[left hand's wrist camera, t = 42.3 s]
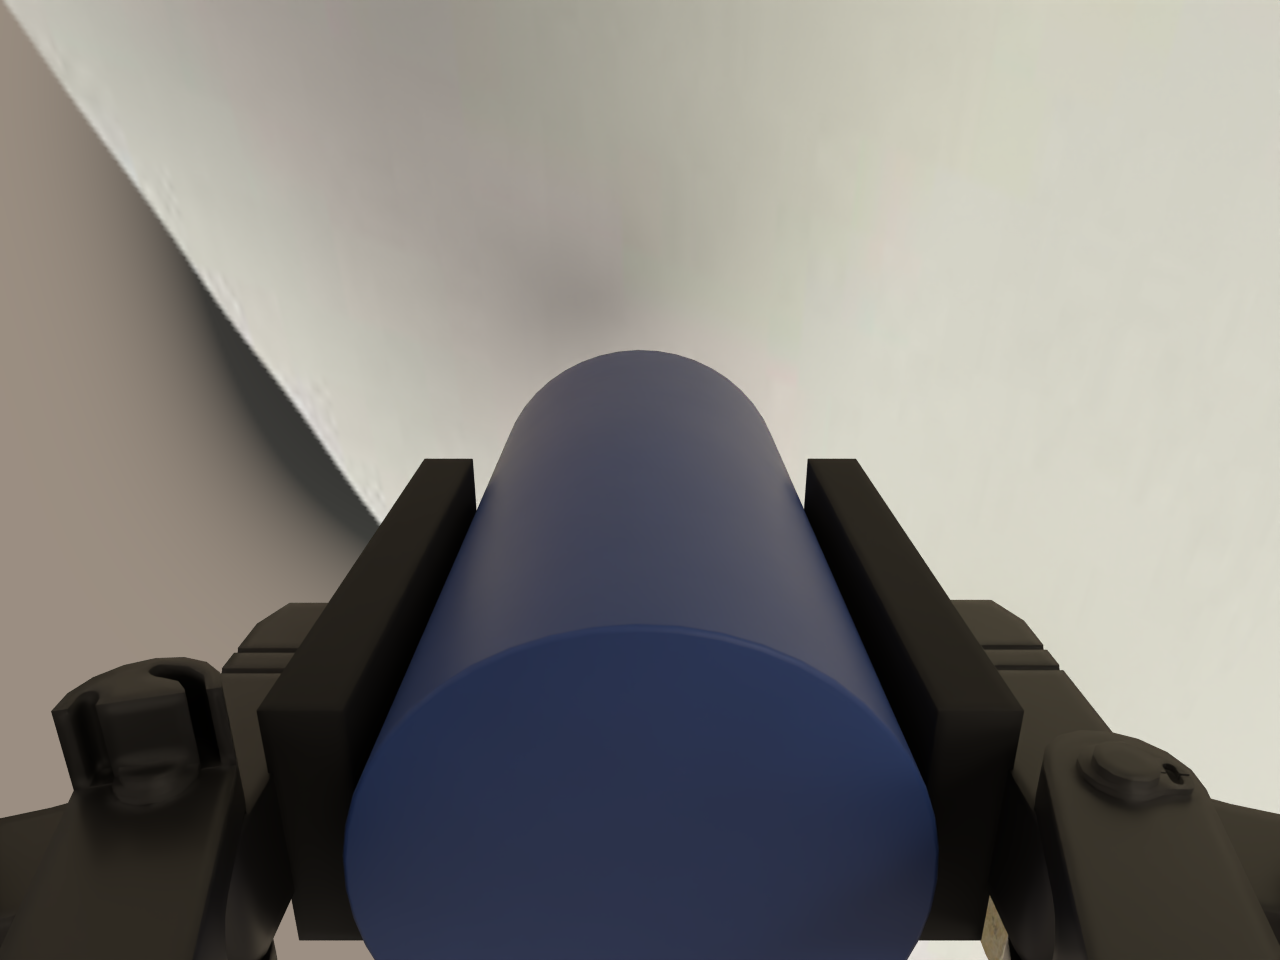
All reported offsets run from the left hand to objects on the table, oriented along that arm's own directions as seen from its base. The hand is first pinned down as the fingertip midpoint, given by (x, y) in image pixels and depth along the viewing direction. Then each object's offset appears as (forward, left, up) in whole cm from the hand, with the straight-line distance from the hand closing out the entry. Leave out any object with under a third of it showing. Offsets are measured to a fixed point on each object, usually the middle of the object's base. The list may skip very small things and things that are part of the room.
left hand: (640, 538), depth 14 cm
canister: (0, 0, -3) cm, 3 cm away
